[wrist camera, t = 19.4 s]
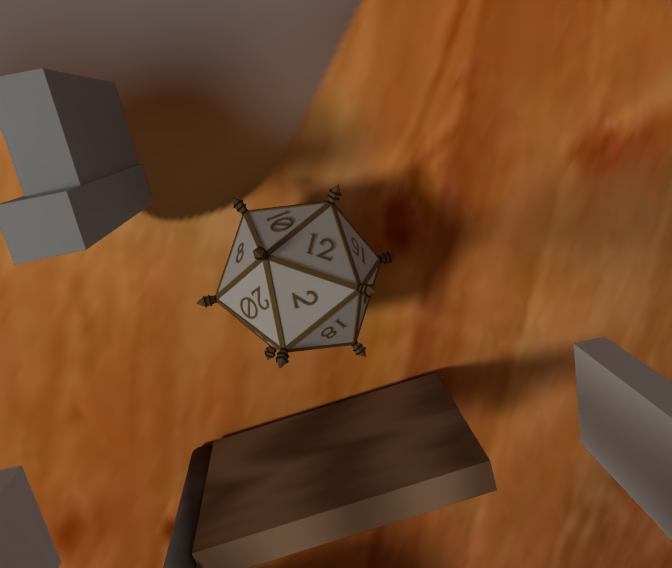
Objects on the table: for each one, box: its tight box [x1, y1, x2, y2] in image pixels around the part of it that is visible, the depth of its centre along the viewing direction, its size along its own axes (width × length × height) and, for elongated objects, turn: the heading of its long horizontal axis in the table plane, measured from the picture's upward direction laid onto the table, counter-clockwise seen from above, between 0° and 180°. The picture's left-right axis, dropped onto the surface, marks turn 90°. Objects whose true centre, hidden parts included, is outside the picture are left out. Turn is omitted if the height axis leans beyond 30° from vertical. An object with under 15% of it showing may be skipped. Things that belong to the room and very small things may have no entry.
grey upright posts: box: [0, 68, 198, 568], centre depth 26 cm, size 25×2×11 cm, turn 11°
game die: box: [197, 184, 396, 368], centre depth 28 cm, size 9×8×10 cm
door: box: [163, 372, 497, 568], centre depth 30 cm, size 15×3×9 cm, turn 106°
